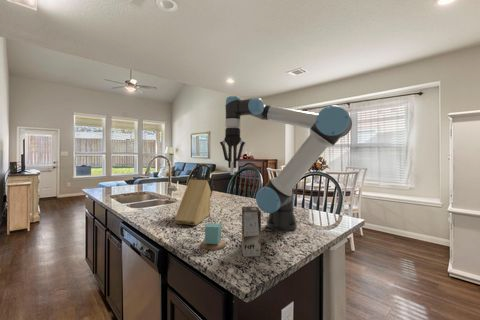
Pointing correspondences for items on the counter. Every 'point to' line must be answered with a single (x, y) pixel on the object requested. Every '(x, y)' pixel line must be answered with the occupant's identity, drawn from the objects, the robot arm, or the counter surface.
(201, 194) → the knife block
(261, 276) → the counter surface
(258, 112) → the robot arm
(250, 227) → the coffee box
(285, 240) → the counter surface
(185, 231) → the counter surface
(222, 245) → the post
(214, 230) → the teal rectangular block
